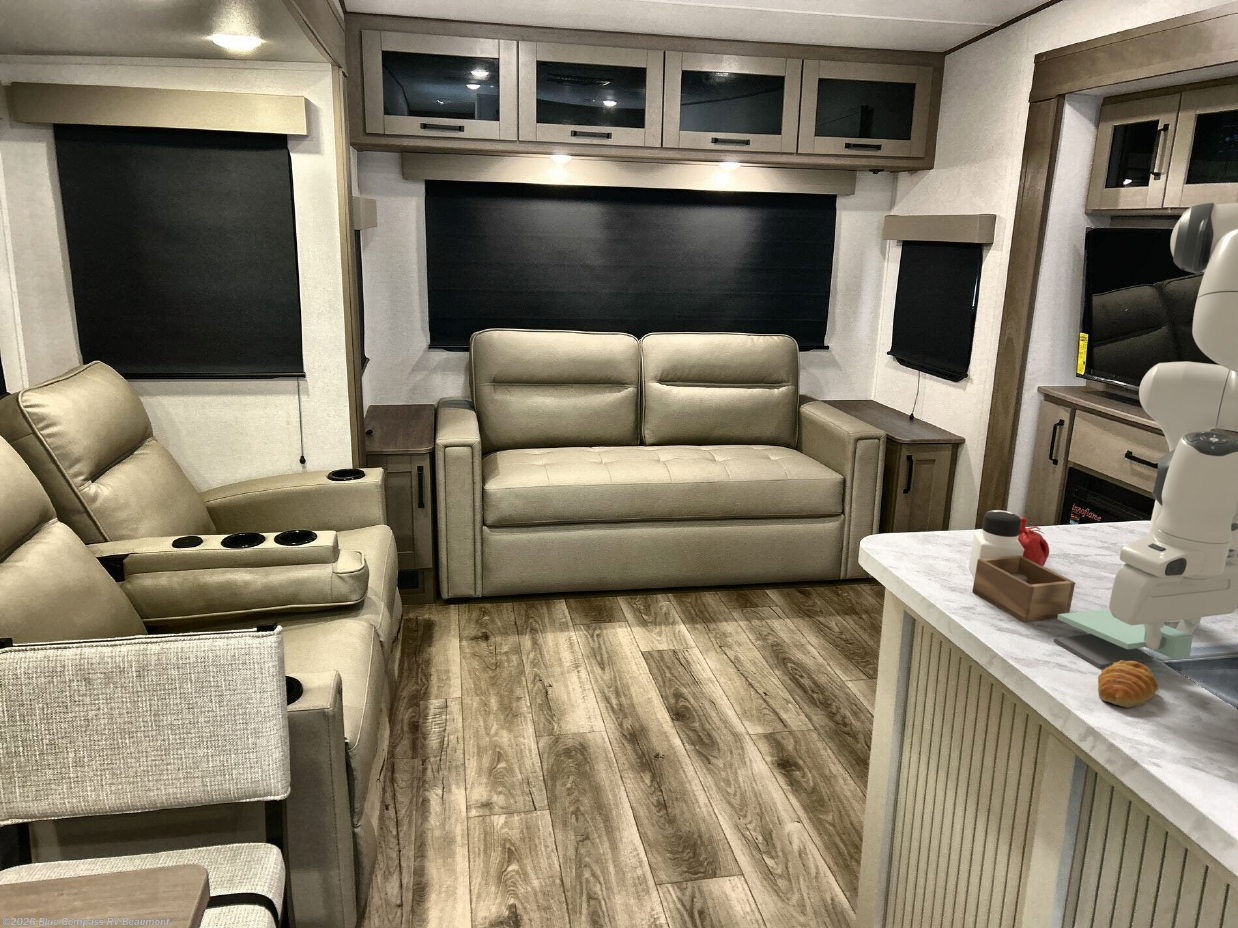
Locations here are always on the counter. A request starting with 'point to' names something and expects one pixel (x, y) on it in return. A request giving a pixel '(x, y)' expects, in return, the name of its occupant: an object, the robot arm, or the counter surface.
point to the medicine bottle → (996, 538)
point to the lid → (1128, 632)
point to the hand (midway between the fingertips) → (1165, 645)
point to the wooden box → (1023, 588)
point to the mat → (1100, 650)
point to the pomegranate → (1033, 544)
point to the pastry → (1127, 684)
